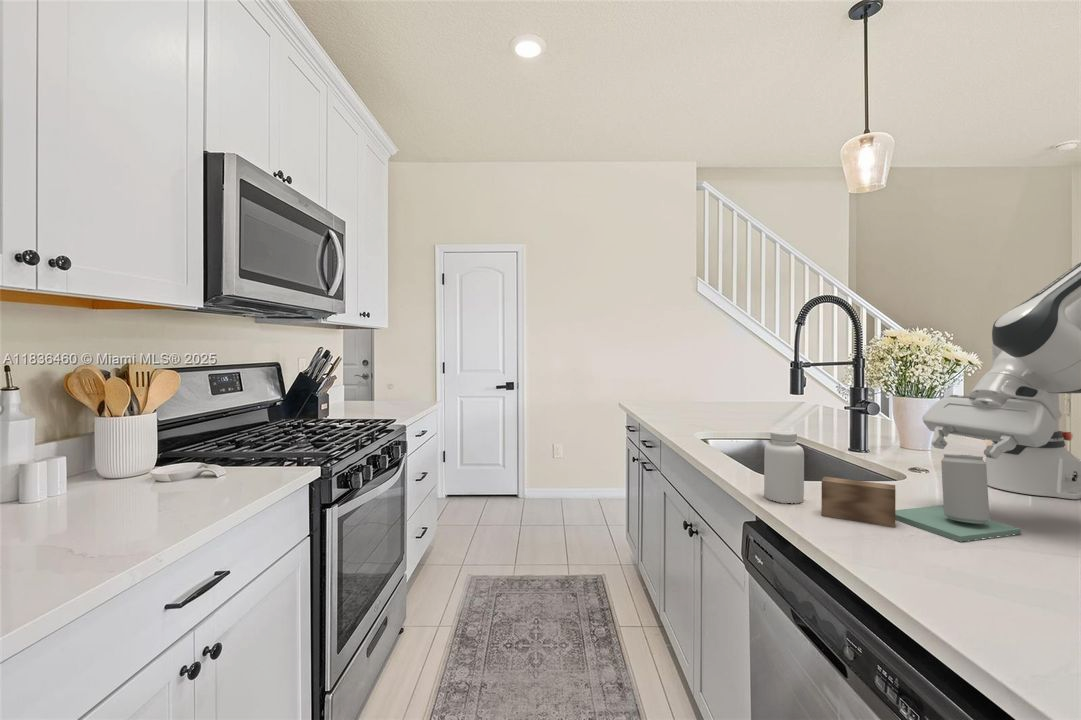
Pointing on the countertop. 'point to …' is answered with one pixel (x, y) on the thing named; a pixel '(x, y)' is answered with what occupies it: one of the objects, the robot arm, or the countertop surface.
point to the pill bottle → (784, 468)
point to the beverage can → (965, 488)
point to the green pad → (952, 524)
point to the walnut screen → (858, 501)
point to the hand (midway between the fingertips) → (961, 451)
